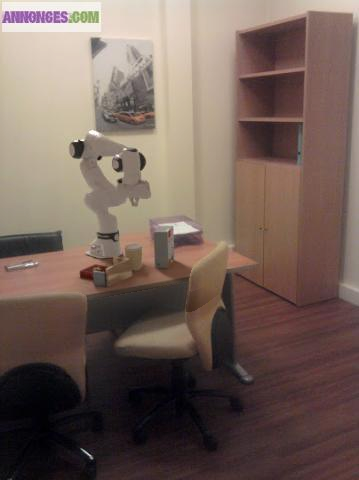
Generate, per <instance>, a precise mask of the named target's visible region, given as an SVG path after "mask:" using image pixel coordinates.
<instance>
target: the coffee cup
mask: <svg viewBox="0 0 359 480" xmlns="http://www.w3.org/2000/svg"><path fill="white" fill-rule="evenodd" d="M124 254H125V258H128V259H131V268H132V271H138V270H141V269H142V268H143V267H142V266H143V246H142V245H141V244H139V243H138V244H137V243H133V244H127V245H125V246H124Z"/></svg>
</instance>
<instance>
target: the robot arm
mask: <svg viewBox="0 0 359 480" xmlns="http://www.w3.org/2000/svg"><path fill="white" fill-rule="evenodd" d="M68 148H69V151H68V152H69V155H70V156H71V157H72V158H73V159H76V160H80V159H82V160H80V162H79V168H80V171H81V172H80V173H81V175H82V177H83V178H84V180H85V182H86V184H87V186H88V188H89V189H90V190H92V191H88V192H87V193H85V195H84V199H83V202H84V205H85V206H86V208H87V209H89V210H91V212H92V213H93V214H94V215H95V216H96V219H97V225H98V231H97V232H96V233H95V236H96V238H95V239H94V240H93V241H91V242H90V244H89V246H88V247H89V250H87V251H86V252H85V255H87V256H90V257H93V258H97V259H99V260H100V259H107V258H108V259H109V258H113V257H114V256H117V257H121V256H122V255H123V253H124V252H123V249H122V247H121V243H120V231H119V224H118V217H117V216H116V215H115V214H113V213H111V212H110V211H109V209H110V208H116V207H119V206H121V205H124V204H126V201H127V199H128V200H129V202H130V203H131V204H130V205H131V207H135V208H136V207H138V206H139V205H138V204H139V201H140V200H141V199H143V200H148V199H150V198H151V196H152V193H151V187H150V182H148V180H145V179H144V180H143V179H142V171H143V170H144V168H145V167H146V165H147V159H146V156H145V155H144V154H143V153H142V152H141V151H139V150H138V149H137V148H136V147H128V146H126V145H123V144H121V143H119V142H117V141H114V140H113V139H111V138H109V137H108V136H106V135H104V134H103V133H101V132H100V131H97V130H90V131H88V132H87V133H86V134H85V139H80V138H79V139H76V140H74V141H71V142H70V144H69V146H68ZM107 157H110V158H111V157H112V160H111V167H112V169H113V170H114V172H116V173H119V174H120V173H123V177H119V178H117V179H116V183H117V184H116V185H115V184H114V183H112V182H111V181H110V180H109V179H107V177H106V176H105V174H104V172H103V170H102V169H101V167H100V165H99V164H98V161H99V162H100V161H101V160H102V159H103V158H107Z"/></svg>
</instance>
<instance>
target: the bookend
mask: <svg viewBox="0 0 359 480" xmlns="http://www.w3.org/2000/svg"><path fill="white" fill-rule="evenodd" d="M93 278H94V280H93V285H94V286H98V287H101V288H107V287H108V286H107V279H106V273H105V272H100V271H93Z"/></svg>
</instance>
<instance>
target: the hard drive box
mask: <svg viewBox="0 0 359 480" xmlns="http://www.w3.org/2000/svg"><path fill="white" fill-rule="evenodd" d="M174 235H175V234H174V225H161V224H160V226H159V227H157V229H155V231H154V232H153V248H154V249H153V251H154V253H153V254H154V268H156V269H169V268H170V267H171V265H172V264H173V263H174V261H175V242H174V241H175V236H174Z"/></svg>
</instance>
